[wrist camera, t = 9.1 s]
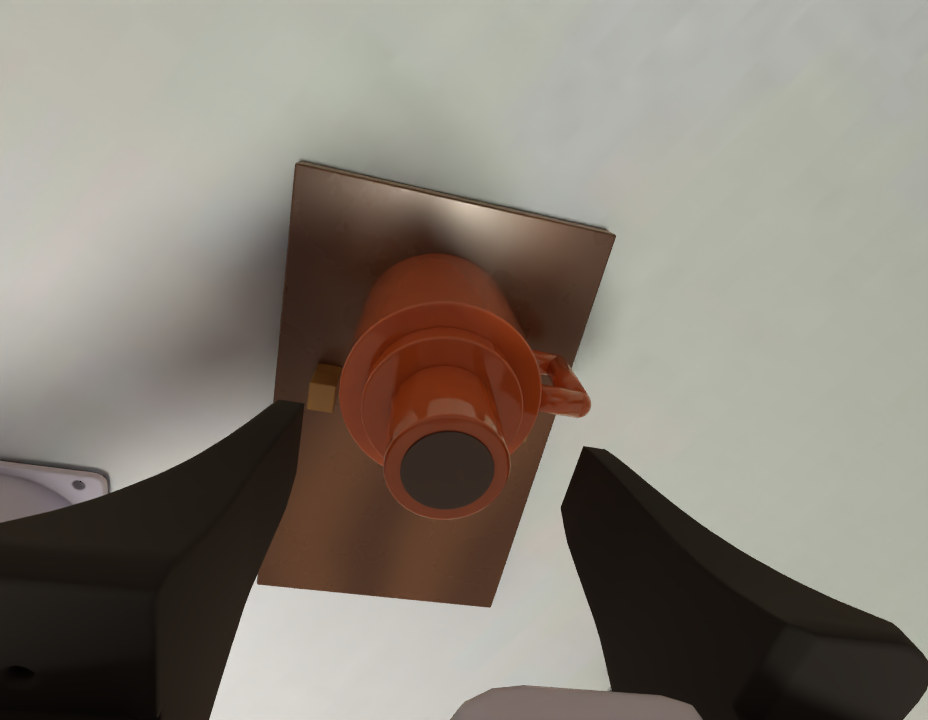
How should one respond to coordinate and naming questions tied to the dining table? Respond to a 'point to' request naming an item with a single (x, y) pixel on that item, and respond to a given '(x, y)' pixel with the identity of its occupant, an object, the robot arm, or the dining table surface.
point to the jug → (447, 385)
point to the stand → (324, 353)
